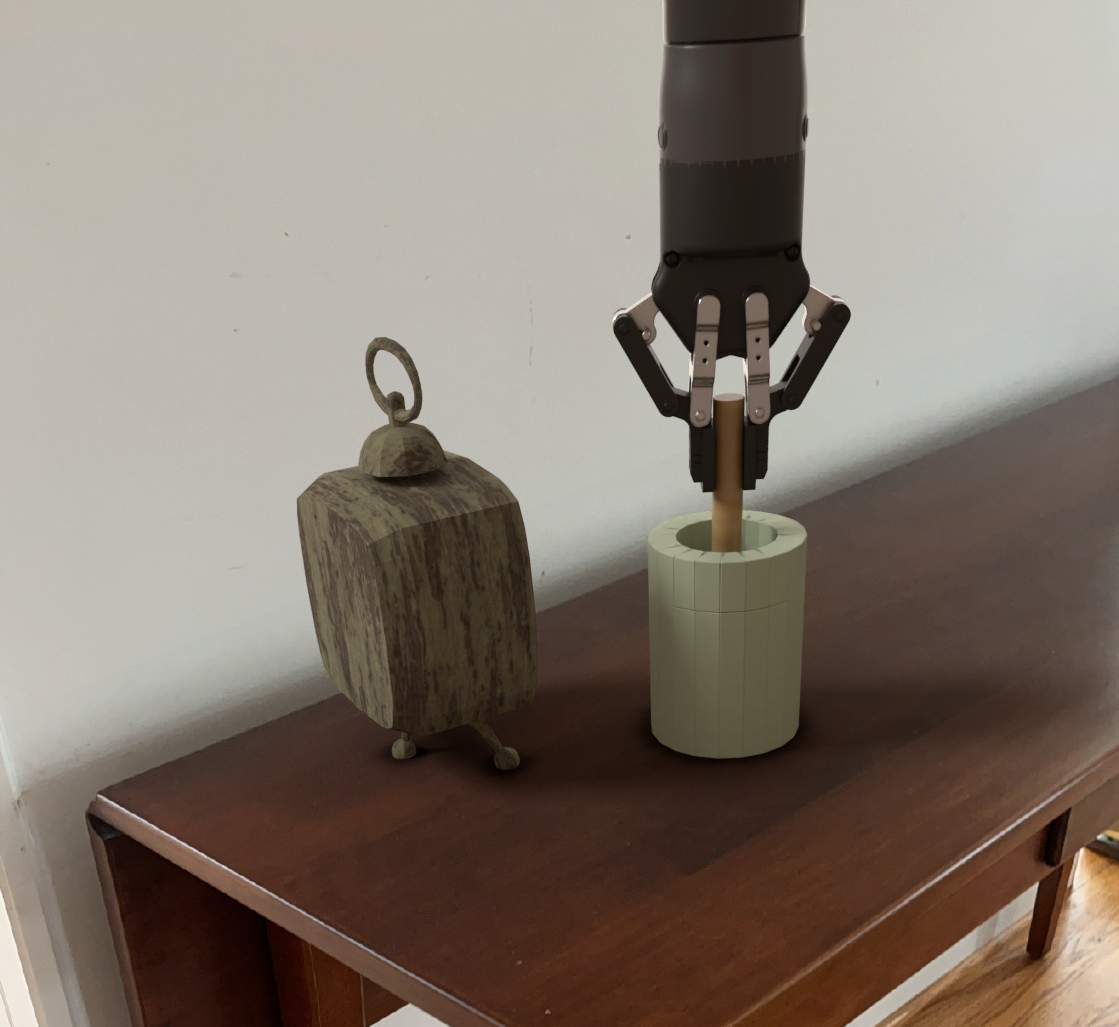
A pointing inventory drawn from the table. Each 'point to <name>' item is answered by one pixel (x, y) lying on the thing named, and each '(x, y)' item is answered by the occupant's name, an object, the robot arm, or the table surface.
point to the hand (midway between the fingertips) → (727, 486)
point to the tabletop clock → (420, 581)
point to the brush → (728, 472)
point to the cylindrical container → (726, 635)
